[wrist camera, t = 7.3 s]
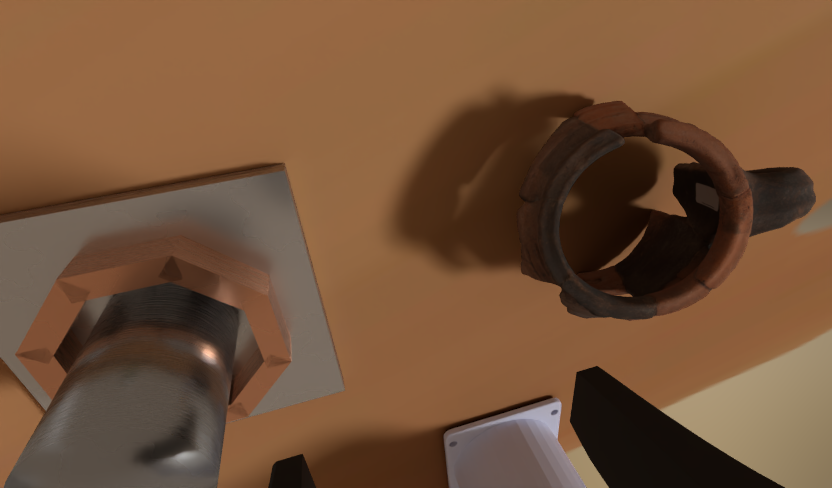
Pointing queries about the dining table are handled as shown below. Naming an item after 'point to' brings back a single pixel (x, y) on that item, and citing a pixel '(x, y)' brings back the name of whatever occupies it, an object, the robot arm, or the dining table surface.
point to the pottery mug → (653, 215)
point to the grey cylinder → (140, 398)
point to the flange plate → (178, 263)
